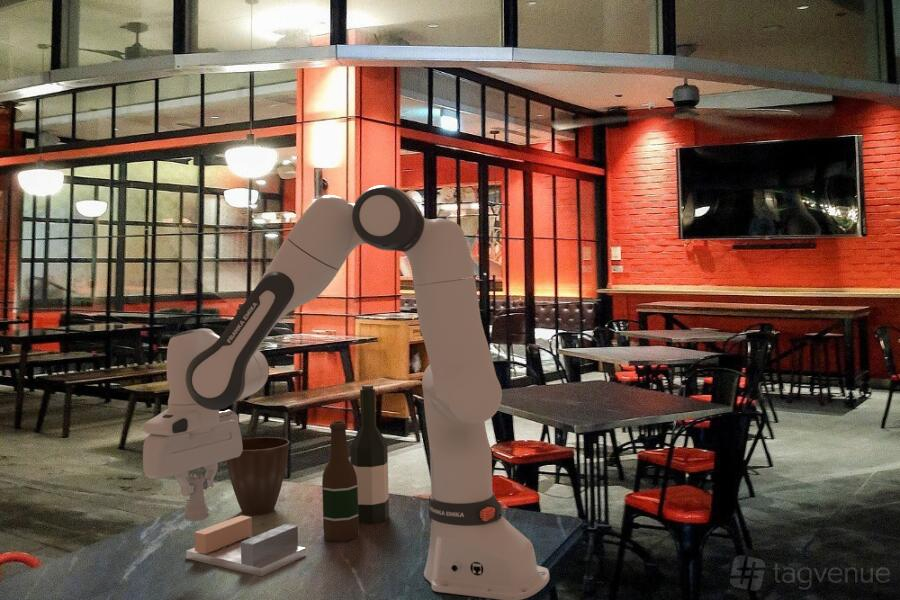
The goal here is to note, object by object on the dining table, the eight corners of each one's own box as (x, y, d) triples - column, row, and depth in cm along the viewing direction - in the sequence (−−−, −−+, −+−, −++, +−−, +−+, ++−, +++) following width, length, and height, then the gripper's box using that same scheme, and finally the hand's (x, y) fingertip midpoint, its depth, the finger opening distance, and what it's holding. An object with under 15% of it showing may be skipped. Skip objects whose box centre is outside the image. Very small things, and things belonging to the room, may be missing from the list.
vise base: (306, 555, 146) (305, 527, 146) (261, 576, 136) (260, 546, 136) (233, 539, 156) (232, 513, 156) (186, 558, 146) (185, 530, 146)
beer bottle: (352, 543, 152) (349, 426, 152) (316, 541, 154) (313, 425, 154) (364, 531, 160) (361, 419, 160) (330, 529, 162) (327, 418, 161)
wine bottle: (396, 515, 170) (393, 384, 170) (373, 525, 163) (370, 388, 163) (367, 510, 175) (364, 382, 174) (344, 520, 168) (341, 386, 167)
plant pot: (289, 499, 186) (287, 434, 186) (293, 516, 172) (291, 446, 172) (226, 505, 182) (224, 439, 182) (225, 523, 168) (223, 452, 168)
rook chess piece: (194, 523, 135) (194, 478, 135) (178, 519, 138) (178, 476, 138) (214, 517, 139) (214, 474, 139) (198, 513, 141) (198, 471, 141)
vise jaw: (252, 535, 154) (251, 517, 154) (205, 553, 143) (205, 534, 143) (241, 533, 155) (241, 515, 155) (194, 551, 145) (194, 532, 145)
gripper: (225, 407, 149) (228, 476, 149) (135, 425, 131) (139, 504, 131) (248, 408, 145) (251, 479, 146) (159, 428, 128) (163, 508, 128)
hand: (197, 491), depth 138 cm, fingers closed on rook chess piece, 3 cm apart
